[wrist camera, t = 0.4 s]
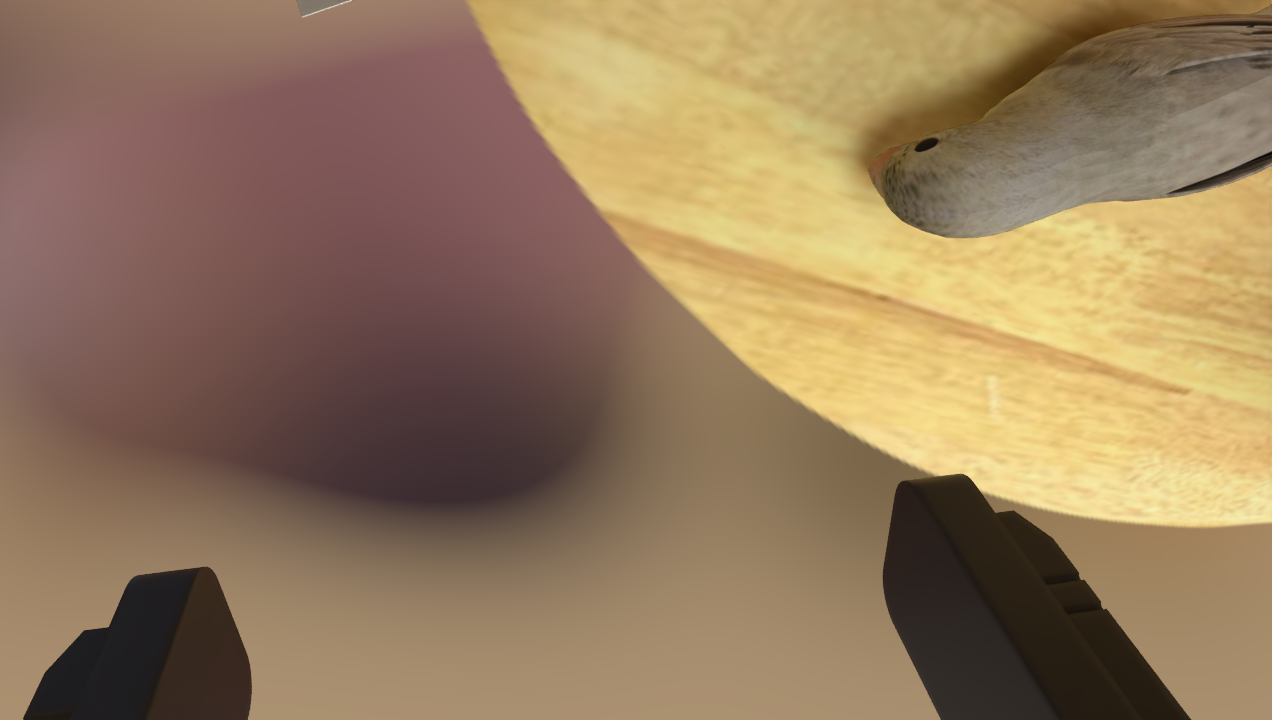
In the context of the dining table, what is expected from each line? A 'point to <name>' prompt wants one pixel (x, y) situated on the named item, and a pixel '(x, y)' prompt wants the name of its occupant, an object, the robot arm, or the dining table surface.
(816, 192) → the dining table surface
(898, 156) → the decorative bird
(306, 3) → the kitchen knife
